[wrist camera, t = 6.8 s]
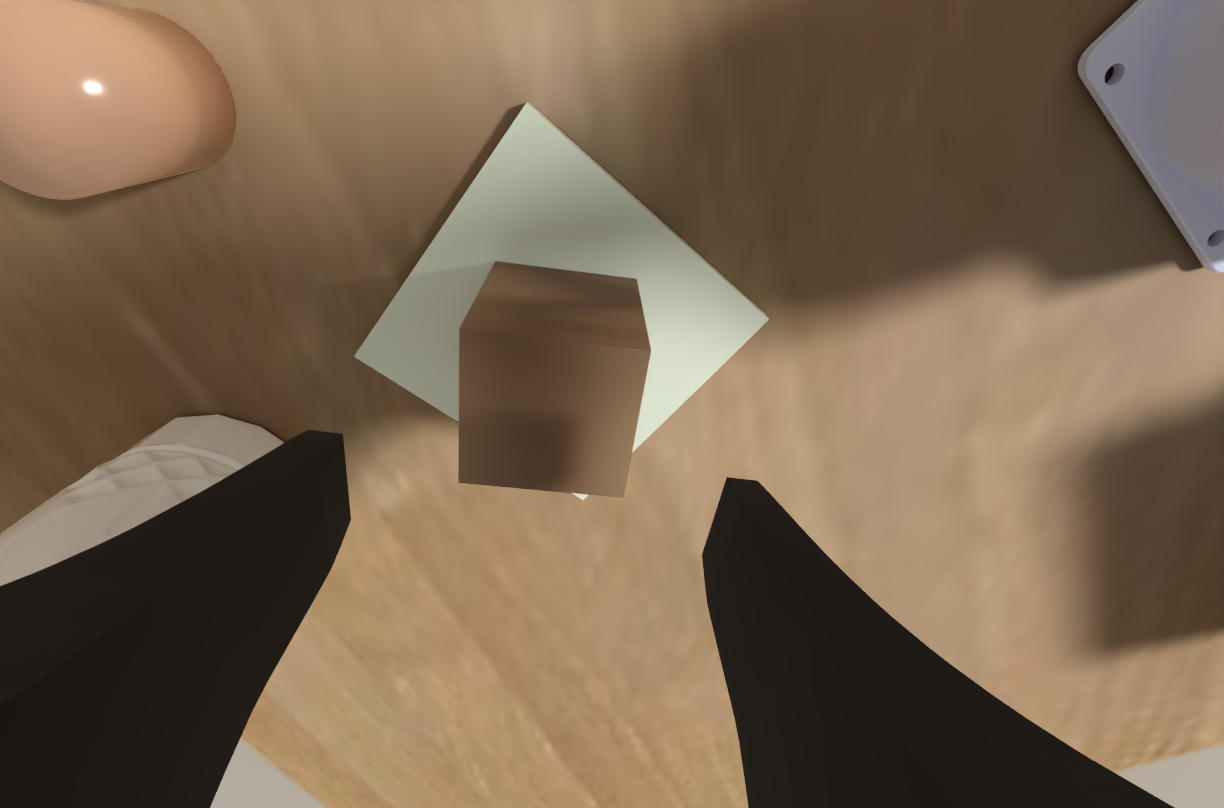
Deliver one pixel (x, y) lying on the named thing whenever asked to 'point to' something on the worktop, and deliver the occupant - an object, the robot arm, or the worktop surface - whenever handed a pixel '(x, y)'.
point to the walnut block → (551, 380)
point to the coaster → (563, 239)
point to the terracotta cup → (104, 99)
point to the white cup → (131, 490)
